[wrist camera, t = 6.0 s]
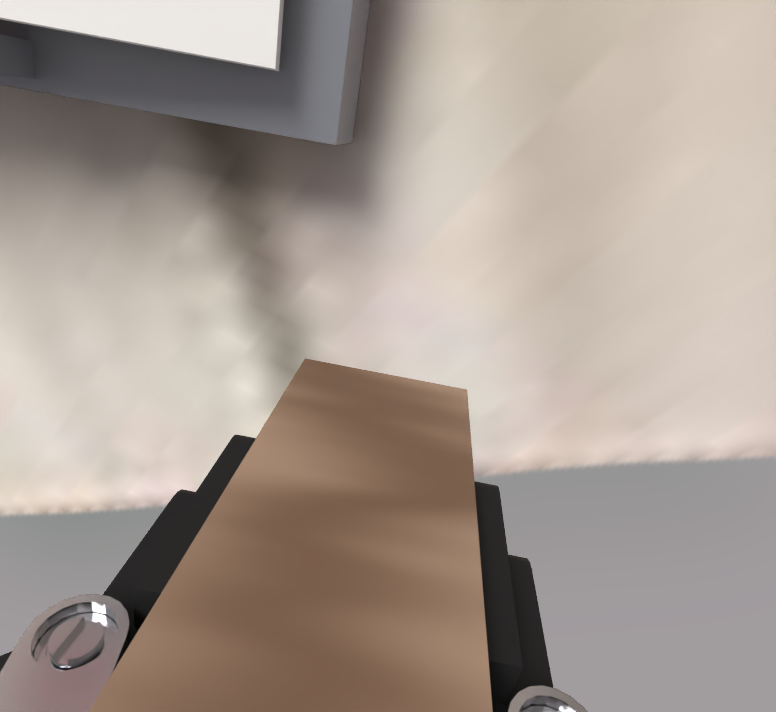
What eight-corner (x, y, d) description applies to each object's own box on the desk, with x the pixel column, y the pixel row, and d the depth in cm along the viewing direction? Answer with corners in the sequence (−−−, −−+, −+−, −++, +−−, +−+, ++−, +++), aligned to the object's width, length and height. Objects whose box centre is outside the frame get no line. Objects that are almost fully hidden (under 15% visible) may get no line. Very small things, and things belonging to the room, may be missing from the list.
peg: (467, 389, 13) (503, 852, 5) (434, 519, 15) (419, 1032, 6) (305, 358, 13) (60, 756, 5) (290, 490, 15) (88, 957, 6)
